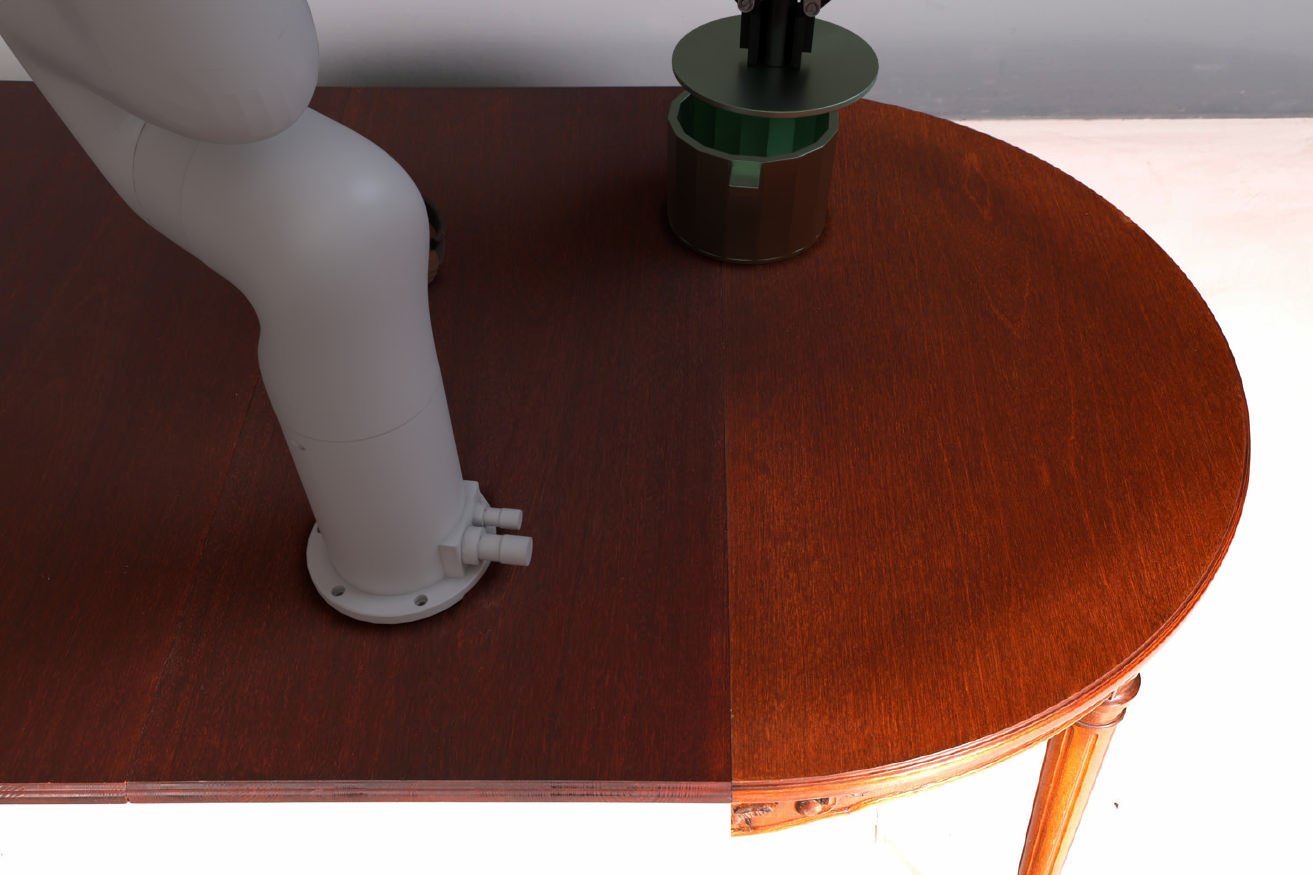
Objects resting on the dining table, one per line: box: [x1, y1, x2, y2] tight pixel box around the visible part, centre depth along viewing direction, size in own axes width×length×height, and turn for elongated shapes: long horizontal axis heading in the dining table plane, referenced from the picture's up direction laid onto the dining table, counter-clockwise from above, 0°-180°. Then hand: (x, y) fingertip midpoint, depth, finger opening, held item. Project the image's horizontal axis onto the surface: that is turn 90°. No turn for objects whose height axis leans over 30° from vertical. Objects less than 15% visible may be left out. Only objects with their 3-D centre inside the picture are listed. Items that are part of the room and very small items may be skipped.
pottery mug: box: [420, 193, 448, 285], centre depth 90 cm, size 12×10×8 cm
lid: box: [671, 0, 880, 118], centre depth 77 cm, size 16×16×7 cm
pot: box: [666, 89, 840, 266], centre depth 94 cm, size 15×20×10 cm
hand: (775, 56), depth 79 cm, fingers closed on lid, 2 cm apart
